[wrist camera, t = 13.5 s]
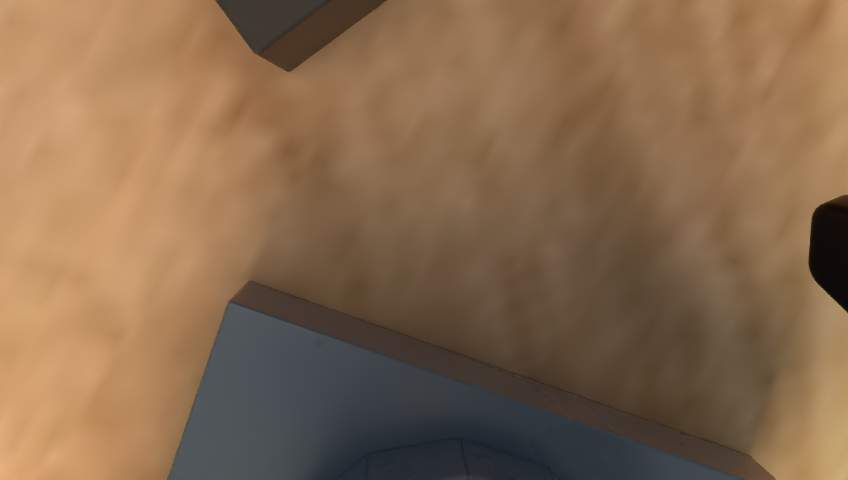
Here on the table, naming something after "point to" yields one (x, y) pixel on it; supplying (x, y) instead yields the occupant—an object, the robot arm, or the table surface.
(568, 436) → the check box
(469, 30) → the table surface
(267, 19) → the frame
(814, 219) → the robot arm
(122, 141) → the table surface
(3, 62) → the table surface
